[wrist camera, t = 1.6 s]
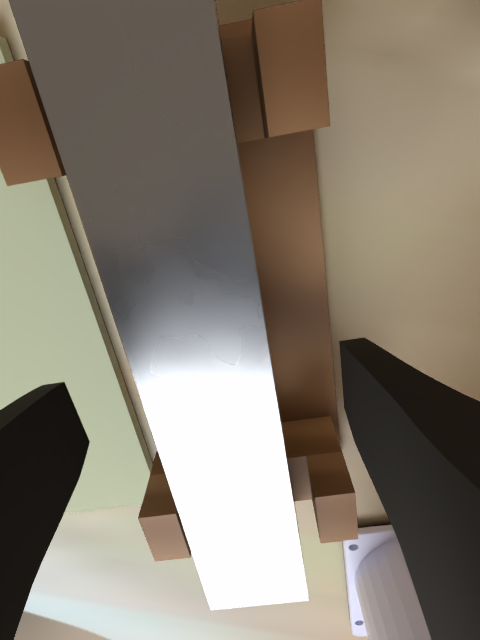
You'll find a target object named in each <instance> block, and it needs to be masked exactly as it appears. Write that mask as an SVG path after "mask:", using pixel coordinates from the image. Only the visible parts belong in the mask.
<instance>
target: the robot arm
mask: <svg viewBox="0 0 480 640" xmlns="http://www.w3.org/2000/svg"><path fill="white" fill-rule="evenodd" d="M339 342H340V355H341V369H342V382H343V396H344V408H345V411H346V415H347V418H348V422H349V425H350V428H351V431H352V435H353V438H354V441H355V444H356V446H357V448H358V451H359V453H360V455H361V457H362V460H363V462H364V464H365V466H366V469H367V471H368V473H369V475H370V478H371V480H372V482H373V484H374V486H375V489H376V491H377V493H378V495H379V498H380V500H381V502H382V504H383V506H384V509H385V511H386V513H387V515H388V518H389V520H390V522H391V525H382V526H373V527H364V528H358V539H355V540H346V541H343V550H344V561H345V572H346V583H347V594H348V604H349V615H350V626H351V631H352V634H353V635H355V636H368V639H369V640H480V402H479V401H477V400H475V399H473V398H470V397H468V396H466V395H464V394H462V393H460V392H458V391H456V390H454V389H452V388H450V387H448V386H446V385H444V384H442V383H440V382H438V381H436V380H435V379H433V378H431V377H429V376H427V375H425V374H424V373H422V372H420V371H418V370H417V369H415V368H413V367H412V366H410V365H408V364H406V363H405V362H403V361H402V360H400V359H398V358H397V357H395V356H393V355H392V354H390V353H389V352H387V351H385V350H384V349H382V348H381V347H379V346H377V345H376V344H374V343H373V342H371V341H369V340H368V339H366V338H358V339H352V340H345V341H339ZM89 443H90V441H89V439H88V436H87V434H86V432H85V429H84V427H83V425H82V422H81V420H80V417H79V415H78V413H77V410H76V408H75V406H74V403H73V401H72V399H71V396H70V394H69V391H68V389H67V387H66V384H65V382H60V383H53V384H46V385H42V386H40V387H38V388H36V389H34V390H32V391H30V392H28V393H27V394H25V395H23V396H21V397H20V398H18V399H17V400H15V401H13V402H12V403H10V404H9V405H7V406H6V407H4V408H3V409H1V410H0V640H14V637H15V634H16V631H17V627H18V625H19V622H20V619H21V616H22V613H23V610H24V607H25V604H26V602H27V599H28V596H29V593H30V590H31V587H32V584H33V582H34V579H35V577H36V575H37V572H38V570H39V567H40V565H41V562H42V560H43V558H44V556H45V554H46V551H47V549H48V547H49V545H50V543H51V540H52V538H53V536H54V534H55V532H56V530H57V527H58V525H59V523H60V521H61V519H62V516H63V514H64V512H65V510H66V508H67V505H68V503H69V501H70V499H71V496H72V494H73V492H74V490H75V487H76V485H77V483H78V480H79V478H80V475H81V472H82V468H83V465H84V462H85V458H86V455H87V451H88V447H89Z"/></svg>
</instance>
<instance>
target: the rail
mask: <svg viewBox="0 0 480 640" xmlns="http://www.w3.org/2000/svg"><path fill="white" fill-rule="evenodd" d="M9 3H10V6H11V9H12V12H13V15H14V18H15V21H16V24H17V27H18V30H19V33H20V36H21V39H22V42H23V45H24V48H25V51H26V54H27V57H28V60H29V63H30V66H31V69H32V72H33V75H34V78H35V81H36V84H37V87H38V90H39V93H40V96H41V99H42V102H43V105H44V108H45V111H46V114H47V117H48V121H49V124H50V127H51V130H52V133H53V136H54V139H55V142H56V145H57V148H58V151H59V154H60V157H61V160H62V163H63V166H64V169H65V172H66V175H67V178H68V181H69V184H70V187H71V190H72V193H73V196H74V199H75V202H76V205H77V208H78V211H79V214H80V217H81V220H82V223H83V226H84V229H85V232H86V235H87V238H88V241H89V244H90V247H91V250H92V253H93V256H94V259H95V262H96V265H97V268H98V271H99V274H100V277H101V280H102V283H103V286H104V289H105V292H106V296H107V299H108V302H109V305H110V308H111V311H112V314H113V317H114V320H115V323H116V326H117V329H118V332H119V335H120V338H121V341H122V344H123V347H124V350H125V353H126V356H127V359H128V362H129V365H130V368H131V371H132V374H133V377H134V380H135V383H136V386H137V389H138V392H139V395H140V398H141V401H142V404H143V407H144V410H145V413H146V416H147V419H148V422H149V425H150V428H151V431H152V434H153V437H154V440H155V443H156V446H157V449H158V452H159V455H160V458H161V461H162V464H163V467H164V470H165V474H166V477H167V480H168V483H169V486H170V489H171V492H172V495H173V498H174V501H175V504H176V507H177V510H178V513H179V516H180V519H181V522H182V525H183V528H184V531H185V534H186V537H187V540H188V543H189V546H190V549H191V552H192V555H193V558H194V561H195V564H196V567H197V570H198V573H199V576H200V579H201V582H202V585H203V588H204V591H205V594H206V597H207V600H208V603H209V606H210V609H211V610H220V609H230V608H240V607H250V606H261V605H271V604H281V603H291V602H301V601H309V598H308V591H307V584H306V577H305V570H304V563H303V556H302V549H301V542H300V536H299V529H298V522H297V515H296V508H295V502H294V496H293V489H292V483H291V477H290V470H289V464H288V458H287V451H286V445H285V439H284V432H283V426H282V420H281V413H280V407H279V401H278V394H277V388H276V382H275V375H274V369H273V363H272V356H271V350H270V344H269V337H268V331H267V324H266V318H265V312H264V305H263V299H262V293H261V286H260V280H259V274H258V267H257V261H256V255H255V248H254V242H253V236H252V229H251V223H250V217H249V210H248V204H247V198H246V191H245V185H244V179H243V172H242V166H241V159H240V153H239V147H238V140H237V134H236V128H235V121H234V115H233V109H232V102H231V96H230V90H229V83H228V77H227V71H226V64H225V58H224V52H223V45H222V39H221V33H220V26H219V20H218V14H217V7H216V1H215V0H9Z"/></svg>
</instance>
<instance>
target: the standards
mask: <svg viewBox="0 0 480 640" xmlns="http://www.w3.org/2000/svg"><path fill="white" fill-rule="evenodd" d="M220 33H221V39H222V45H223V52H224V58H225V64H226V71H227V77H228V83H229V90H230V96H231V102H232V109H233V115H234V121H235V128H236V134H237V140H238V147H239V153H240V159H241V166H242V172H243V179H244V185H245V191H246V198H247V204H248V210H249V217H250V223H251V229H252V236H253V242H254V248H255V255H256V261H257V267H258V274H259V280H260V286H261V293H262V299H263V305H264V312H265V318H266V324H267V331H268V337H269V344H270V350H271V356H272V363H273V369H274V375H275V382H276V388H277V394H278V401H279V407H280V413H281V420H282V426H283V432H284V439H285V445H286V451H287V458H288V464H289V470H290V477H291V483H292V489H293V496H294V501H300V500H309V499H312V501H313V506H314V511H315V517H316V522H317V527H318V532H319V537H320V542H321V543H328V542H337V541H346V540H355V539H358V526H357V512H356V497H355V491H354V487H353V484H352V481H351V478H350V475H349V472H348V469H347V466H346V463H345V459H344V456H343V453H342V450H341V447H340V441H339V429H338V417H337V405H336V394H335V382H334V370H333V358H332V346H331V335H330V323H329V311H328V299H327V287H326V275H325V264H324V252H323V240H322V228H321V216H320V205H319V193H318V181H317V169H316V157H315V145H314V134H313V129H317V128H322V127H327V126H330V117H329V102H328V88H327V73H326V58H325V44H324V29H323V14H322V0H300V1H295V2H290V3H286V4H281V5H276V6H272V7H267V8H262V9H257V10H253V17H252V19H250V20H245V21H240V22H235V23H231V24H226V25H221V26H220ZM0 169H1V172H2V174H3V177H4V179H5V182H6V185H7V186H12V185H17V184H22V183H28V182H33V181H39V180H44V179H49V178H55V177H60V176H65V175H66V172H65V169H64V166H63V163H62V160H61V157H60V154H59V151H58V148H57V145H56V142H55V139H54V136H53V133H52V130H51V127H50V124H49V121H48V117H47V114H46V111H45V108H44V105H43V102H42V99H41V96H40V93H39V90H38V87H37V84H36V81H35V78H34V75H33V72H32V69H31V66H30V63H29V61H27V60H24V59H21V60H17V61H12V62H7V63H2V64H0ZM66 176H67V175H66ZM67 179H68V178H67ZM68 182H69V181H68ZM69 185H70V184H69ZM70 188H71V187H70ZM71 191H72V190H71ZM72 194H73V193H72ZM73 197H74V196H73ZM74 200H75V199H74ZM75 203H76V202H75ZM76 207H77V205H76ZM77 210H78V208H77ZM78 213H79V211H78ZM79 216H80V214H79ZM80 219H81V217H80ZM81 222H82V220H81ZM82 225H83V223H82ZM83 228H84V226H83ZM84 231H85V229H84ZM85 234H86V232H85ZM86 237H87V235H86ZM87 240H88V238H87ZM88 243H89V241H88ZM89 246H90V244H89ZM90 249H91V247H90ZM91 252H92V250H91ZM92 255H93V253H92ZM93 258H94V256H93ZM94 261H95V259H94ZM95 264H96V262H95ZM96 267H97V265H96ZM97 270H98V268H97ZM98 273H99V271H98ZM99 276H100V274H99ZM100 279H101V277H100ZM101 282H102V280H101ZM102 285H103V283H102ZM103 288H104V286H103ZM104 291H105V289H104ZM105 294H106V292H105ZM106 297H107V296H106ZM107 300H108V299H107ZM108 303H109V302H108ZM109 306H110V305H109ZM110 309H111V308H110ZM111 312H112V311H111ZM112 315H113V314H112ZM113 318H114V317H113ZM114 321H115V320H114ZM115 324H116V323H115ZM116 327H117V326H116ZM117 330H118V329H117ZM118 333H119V332H118ZM119 336H120V335H119ZM120 339H121V338H120ZM121 342H122V341H121ZM122 345H123V344H122ZM123 348H124V347H123ZM124 351H125V350H124ZM125 354H126V353H125ZM126 357H127V356H126ZM127 360H128V359H127ZM128 363H129V362H128ZM129 366H130V365H129ZM130 369H131V368H130ZM131 372H132V371H131ZM132 375H133V374H132ZM133 378H134V377H133ZM134 381H135V380H134ZM135 384H136V383H135ZM136 387H137V386H136ZM137 390H138V389H137ZM138 393H139V392H138ZM139 396H140V395H139ZM140 399H141V398H140ZM141 402H142V401H141ZM142 405H143V404H142ZM143 408H144V407H143ZM144 411H145V410H144ZM145 414H146V413H145ZM146 417H147V416H146ZM147 420H148V419H147ZM148 423H149V422H148ZM149 426H150V425H149ZM150 429H151V428H150ZM151 432H152V431H151ZM152 435H153V434H152ZM153 438H154V437H153ZM154 441H155V440H154ZM155 444H156V443H155ZM156 448H157V446H156ZM138 519H139V522H140V524H141V527H142V529H143V532H144V534H145V537H146V540H147V542H148V545H149V547H150V550H151V552H152V555H153V557H154V560H155V561H163V560H172V559H181V558H190V557H191V549H190V546H189V543H188V540H187V537H186V534H185V531H184V528H183V525H182V522H181V519H180V516H179V513H178V510H177V507H176V504H175V501H174V498H173V495H172V492H171V489H170V486H169V483H168V480H167V477H166V474H165V470H164V467H163V464H162V461H161V458H160V455H159V452H158V449H157V452H156V455H155V459H154V463H153V466H152V470H151V473H150V477H149V481H148V484H147V488H146V492H145V495H144V499H143V502H142V506H141V510H140V513H139V517H138Z"/></svg>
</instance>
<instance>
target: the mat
mask: <svg viewBox="0 0 480 640" xmlns="http://www.w3.org/2000/svg"><path fill="white" fill-rule="evenodd" d="M12 61H14V60H13V57H12V54H11V51H10V48H9V45H8V43H7V40H6V38H4V37H2V36H0V64H2V63H7V62H12ZM60 382H65V384H66V387H67V389H68V391H69V394H70V396H71V399H72V401H73V403H74V406H75V408H76V410H77V413H78V415H79V417H80V420H81V422H82V425H83V427H84V429H85V432H86V434H87V436H88V439H89V441H90V443H89V447H88V451H87V455H86V458H85V462H84V465H83V468H82V472H81V475H80V478H79V480H78V483H77V485H76V487H75V490H74V492H73V494H72V496H71V499H70V501H69V503H68V505H67V508H66V510H65V512H64V514H70V513H78V512H86V511H95V510H103V509H111V508H120V507H128V506H136V505H142V502H143V499H144V495H145V492H146V488H147V484H148V481H149V477H150V473H151V470H152V466H153V463H152V460H151V457H150V455H149V452H148V449H147V446H146V443H145V440H144V437H143V434H142V431H141V428H140V426H139V423H138V420H137V417H136V414H135V411H134V408H133V405H132V402H131V399H130V397H129V394H128V391H127V388H126V385H125V382H124V379H123V376H122V373H121V370H120V368H119V365H118V362H117V359H116V356H115V353H114V350H113V347H112V344H111V341H110V339H109V336H108V333H107V330H106V327H105V324H104V321H103V318H102V315H101V312H100V310H99V307H98V304H97V301H96V298H95V295H94V292H93V289H92V286H91V283H90V280H89V278H88V275H87V272H86V269H85V266H84V263H83V260H82V257H81V254H80V251H79V249H78V246H77V243H76V240H75V237H74V234H73V231H72V228H71V225H70V222H69V220H68V217H67V214H66V211H65V208H64V205H63V202H62V199H61V196H60V193H59V191H58V188H57V185H56V182H55V179H54V178H49V179H44V180H39V181H33V182H28V183H22V184H17V185H12V186H7V185H6V182H5V179H4V177H3V174H2V172H1V169H0V410H1V409H3V408H4V407H6V406H7V405H9V404H10V403H12V402H13V401H15V400H17V399H18V398H20V397H21V396H23V395H25V394H27V393H28V392H30V391H32V390H34V389H36V388H38V387H40V386H42V385H46V384H53V383H60Z"/></svg>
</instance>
